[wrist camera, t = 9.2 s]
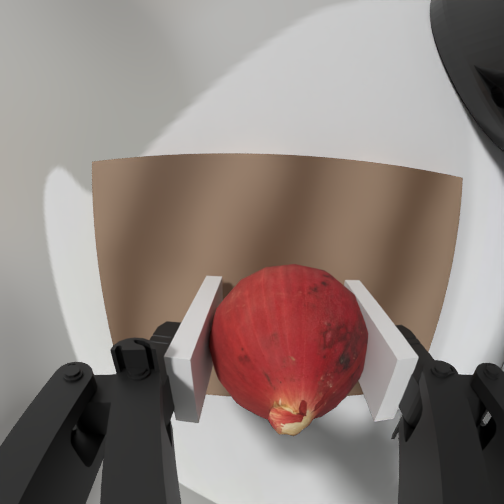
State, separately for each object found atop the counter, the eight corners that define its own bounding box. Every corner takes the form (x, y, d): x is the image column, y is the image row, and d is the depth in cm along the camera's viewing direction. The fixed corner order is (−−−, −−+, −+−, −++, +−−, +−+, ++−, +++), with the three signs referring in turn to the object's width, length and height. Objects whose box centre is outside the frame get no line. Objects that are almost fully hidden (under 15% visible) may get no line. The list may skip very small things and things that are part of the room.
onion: (313, 220, 13) (377, 290, 5) (357, 319, 14) (417, 435, 6) (202, 276, 14) (140, 387, 6) (258, 364, 15) (251, 490, 7)
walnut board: (448, 176, 14) (462, 177, 12) (406, 375, 18) (414, 387, 16) (105, 161, 14) (91, 161, 13) (130, 369, 18) (122, 381, 17)
